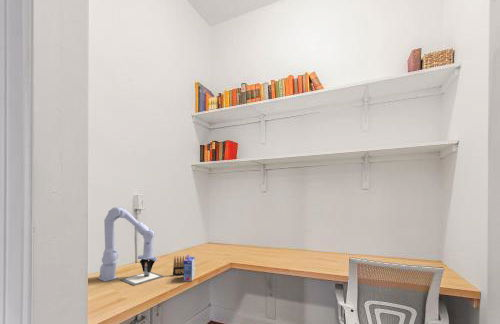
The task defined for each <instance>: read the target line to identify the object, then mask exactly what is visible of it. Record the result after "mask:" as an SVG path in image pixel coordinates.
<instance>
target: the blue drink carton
mask: <svg viewBox="0 0 500 324" xmlns="http://www.w3.org/2000/svg"><path fill="white" fill-rule="evenodd" d="M186 256H187V258H186V259H185V258H184V275H183V282H193V280H194V278H195V277H196V257H195V256H190V254H187V255H186ZM188 256H189V257H188ZM194 276H195V277H194Z"/></svg>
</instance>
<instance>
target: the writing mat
mask: <svg viewBox="0 0 500 324" xmlns="http://www.w3.org/2000/svg"><path fill="white" fill-rule="evenodd" d="M163 277H164V275H162V274H158V273H156V272H153V271H151V272H150V274H149V276H144V272H142V273H139V274H134V275H132V276H129V277H128V276H127V277H123V278H120V279H119V280H120V281H121V282H123V283H125V284H128V285H131V286H138V285H141V284H143V283H148V282H150V281H154V280H158V279H161V278H163Z"/></svg>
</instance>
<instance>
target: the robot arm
mask: <svg viewBox="0 0 500 324" xmlns="http://www.w3.org/2000/svg"><path fill="white" fill-rule="evenodd" d="M119 218H120V219H125V220H126V221H128V222H129V223H131V224H132V225H133V226H134V229H135V231H137V233H138V234H139V235H141V236H142V237H143V240H144V241H143V249H142V250H143V251H142V252H143V253H142V255H138V256H137V259H138V260H139V263H140V264H141V269H142V273H144V268H145V262H147V267H148V269H147V271H148V272H152V268H153V266H154V264H155V262H157V261H158V260H159V258H158V256H154V237H155V231H154V230H153V229H151V228H150V227H148V226H147V225H146V223H145V222H142V221H138V220H137V219H136V218H135V217H134V216H133V215H132V214H131V213H130V212H129V211H128V210H127V209H125V208H124V207H123V206H117V207H115V206H114V207H112V208H110V210H108V213H107V215H106V217H105V218H104V222H103V223H104V225H103V226H104V247H105V248H104V251H103V255H102V258H101V263H102V264H101V266H100V267H99V277H97V279H98V280H101V281H103V282H109V281H112V280H116V279H118V278H119V277H118V276H116V272H117V271H116V270H117V261H116V260H117V259H118V257H119V254H118V252H117V248H116V247H115V245H116V244H115V243H116V241H115V222H116V221H117V219H119Z"/></svg>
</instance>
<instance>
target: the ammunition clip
mask: <svg viewBox="0 0 500 324" xmlns="http://www.w3.org/2000/svg"><path fill="white" fill-rule="evenodd" d="M188 257H190V255H189V256H188ZM186 258H187V255H185V257H184V256H182V255H180V256H177V257H176V256H174V258H173V268H172V270H173V271H172V276H173V277H175V276H184V260H185V259H186Z"/></svg>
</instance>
